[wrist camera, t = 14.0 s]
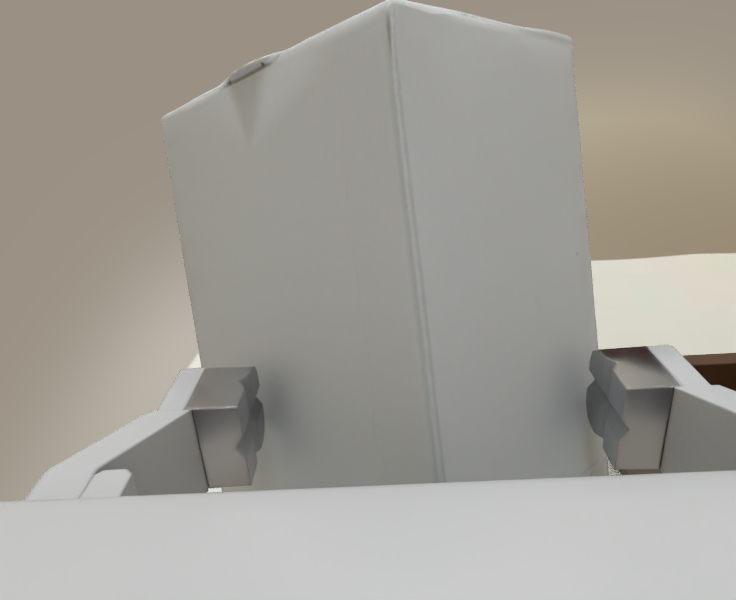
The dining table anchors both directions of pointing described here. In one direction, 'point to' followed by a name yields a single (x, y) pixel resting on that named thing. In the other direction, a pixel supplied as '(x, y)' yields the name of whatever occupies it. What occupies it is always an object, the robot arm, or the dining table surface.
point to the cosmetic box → (396, 250)
